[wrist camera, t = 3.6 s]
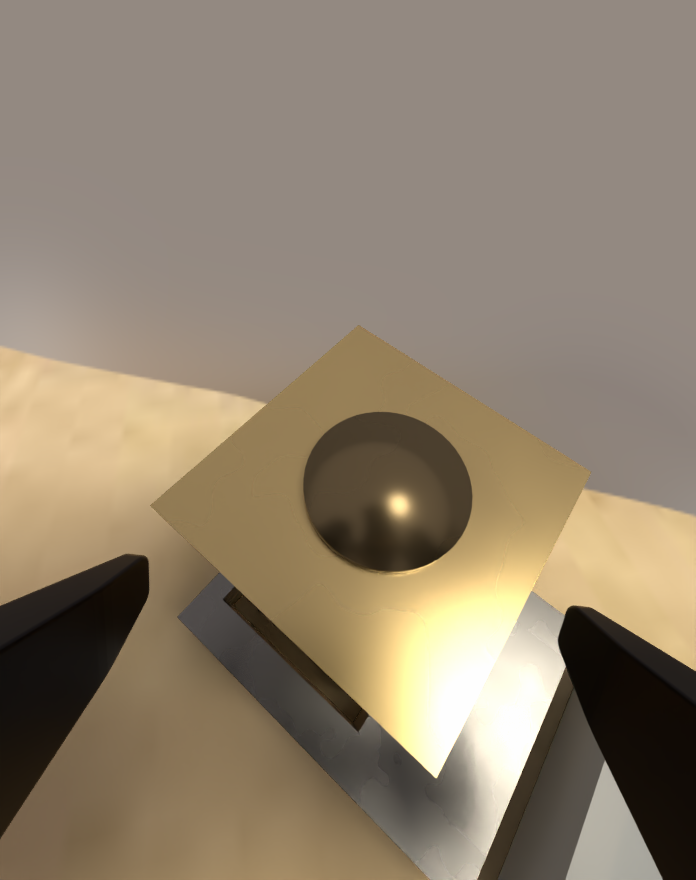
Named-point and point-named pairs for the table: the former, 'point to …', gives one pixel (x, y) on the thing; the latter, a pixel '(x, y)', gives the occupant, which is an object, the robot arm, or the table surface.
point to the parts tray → (577, 816)
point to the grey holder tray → (381, 756)
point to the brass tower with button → (383, 531)
